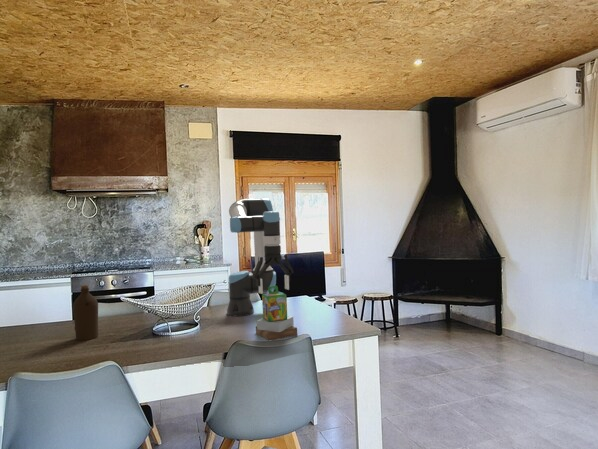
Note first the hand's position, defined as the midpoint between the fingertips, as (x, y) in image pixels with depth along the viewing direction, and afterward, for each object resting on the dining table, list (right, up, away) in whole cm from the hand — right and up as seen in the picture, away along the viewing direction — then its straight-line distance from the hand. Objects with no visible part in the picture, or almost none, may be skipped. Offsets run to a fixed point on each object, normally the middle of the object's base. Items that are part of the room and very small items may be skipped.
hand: (274, 291), depth 184 cm
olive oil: (-89, -23, +6) cm, 92 cm away
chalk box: (+1, -13, -1) cm, 13 cm away
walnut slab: (+1, -21, 0) cm, 21 cm away
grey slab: (+1, -17, 0) cm, 17 cm away
